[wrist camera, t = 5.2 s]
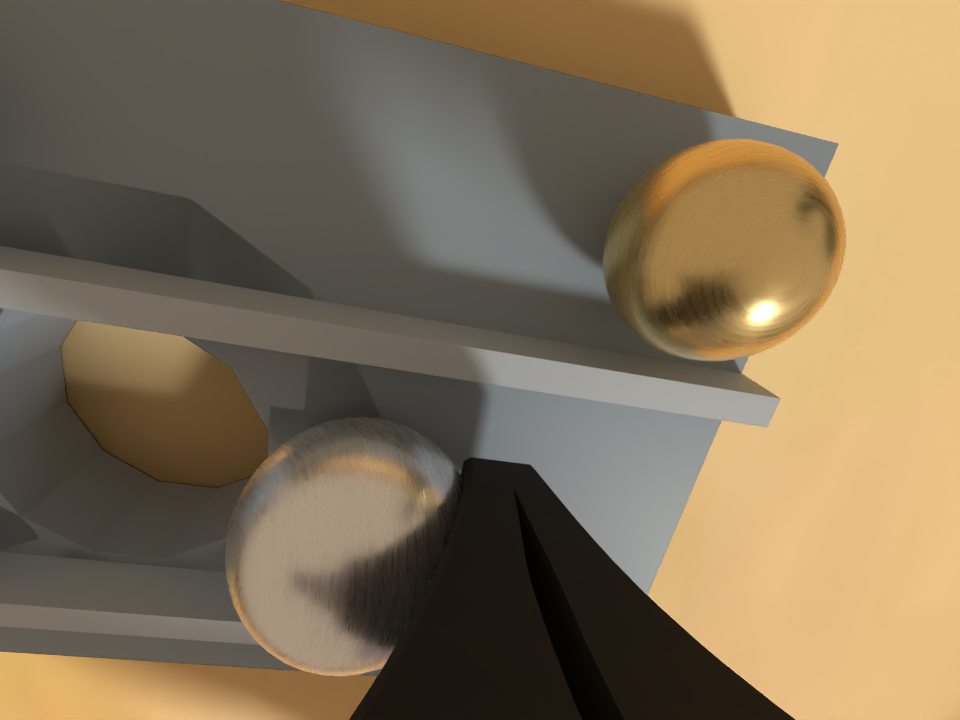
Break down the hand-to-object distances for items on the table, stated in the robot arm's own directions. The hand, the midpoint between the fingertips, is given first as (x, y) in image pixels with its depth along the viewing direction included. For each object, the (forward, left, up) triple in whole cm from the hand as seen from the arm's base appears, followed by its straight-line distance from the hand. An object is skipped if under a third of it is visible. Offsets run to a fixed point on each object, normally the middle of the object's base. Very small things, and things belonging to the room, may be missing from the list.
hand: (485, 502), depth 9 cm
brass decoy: (-2, -5, +1) cm, 6 cm away
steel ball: (+2, 0, +1) cm, 2 cm away
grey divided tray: (+4, -1, -3) cm, 5 cm away
